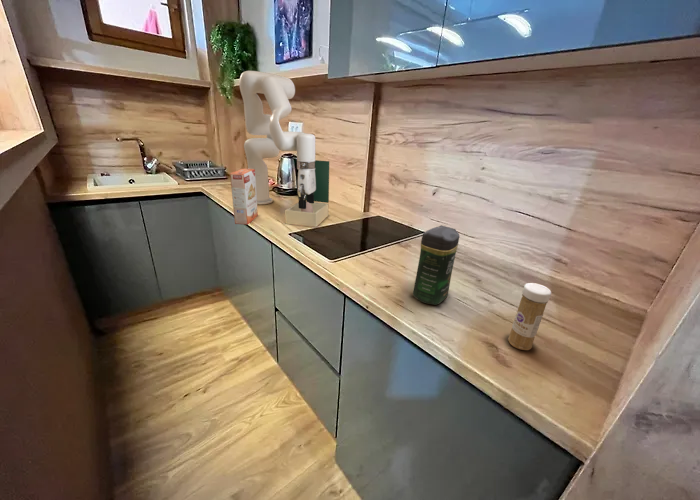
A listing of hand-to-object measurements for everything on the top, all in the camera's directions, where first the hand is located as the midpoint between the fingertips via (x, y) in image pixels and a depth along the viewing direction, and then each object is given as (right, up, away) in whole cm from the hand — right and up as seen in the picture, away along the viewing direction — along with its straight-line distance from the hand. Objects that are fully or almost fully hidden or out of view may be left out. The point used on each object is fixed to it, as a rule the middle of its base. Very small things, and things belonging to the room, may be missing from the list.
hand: (306, 205), depth 132 cm
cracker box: (-26, -7, -1) cm, 26 cm away
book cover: (+3, +12, +5) cm, 13 cm away
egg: (0, -5, +2) cm, 6 cm away
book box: (0, -6, +3) cm, 7 cm away
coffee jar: (+40, -32, -53) cm, 73 cm away
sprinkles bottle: (+54, -39, -69) cm, 96 cm away
